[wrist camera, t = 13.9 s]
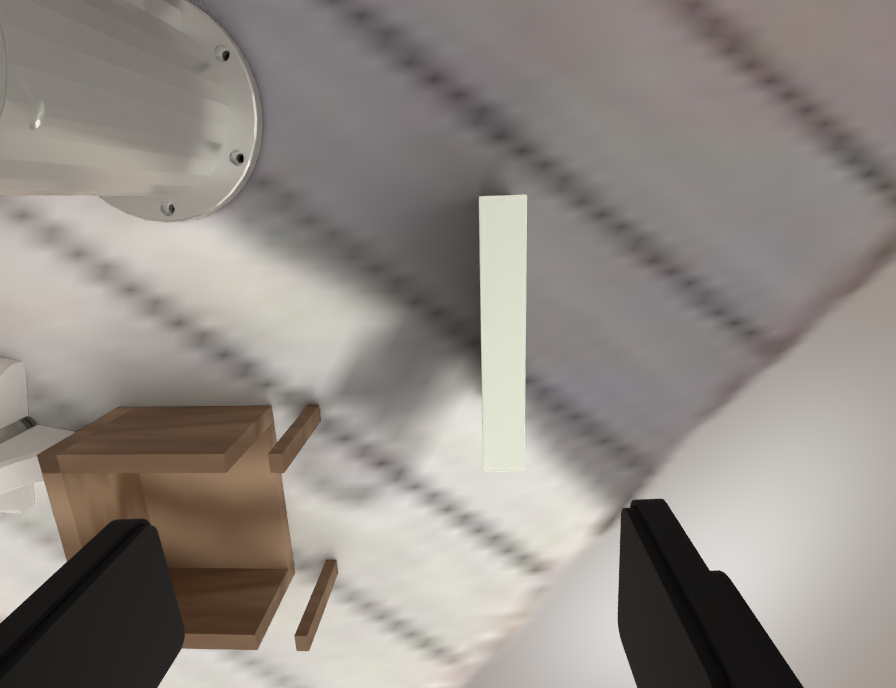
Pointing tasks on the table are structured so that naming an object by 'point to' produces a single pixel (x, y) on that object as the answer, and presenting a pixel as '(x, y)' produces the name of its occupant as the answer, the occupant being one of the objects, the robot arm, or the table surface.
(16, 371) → the toy gun turret
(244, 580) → the box
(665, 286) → the table surface
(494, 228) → the cover plate
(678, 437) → the table surface
